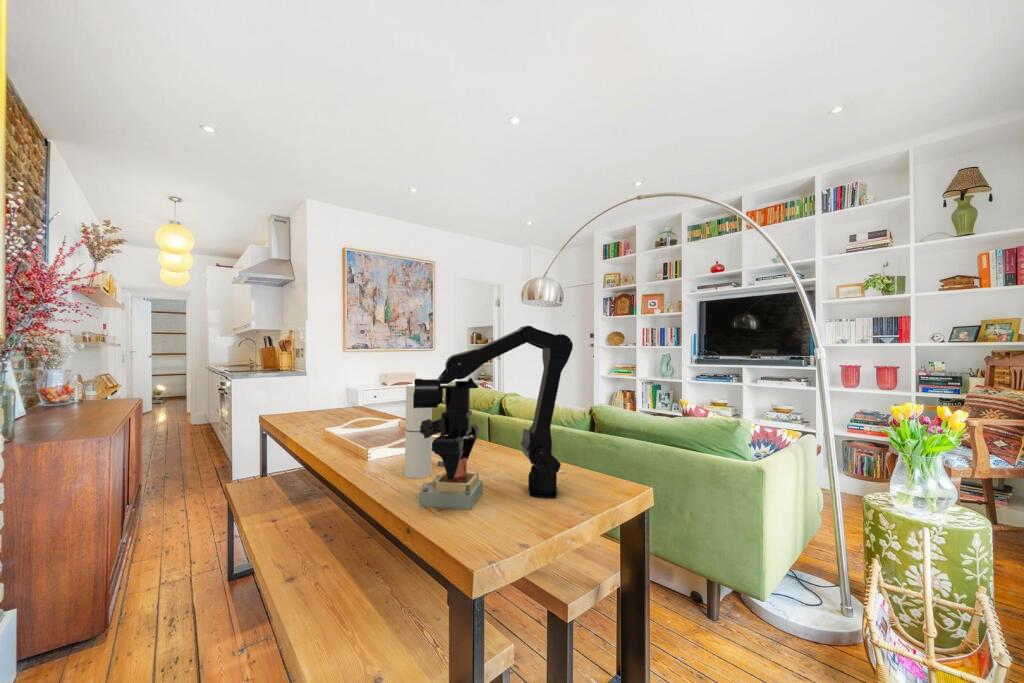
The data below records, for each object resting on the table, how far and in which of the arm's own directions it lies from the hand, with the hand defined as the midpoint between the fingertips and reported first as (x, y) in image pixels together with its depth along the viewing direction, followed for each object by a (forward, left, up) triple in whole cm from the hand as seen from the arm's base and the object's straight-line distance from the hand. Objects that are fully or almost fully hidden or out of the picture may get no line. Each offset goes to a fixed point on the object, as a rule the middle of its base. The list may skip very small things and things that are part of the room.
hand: (456, 473), depth 97 cm
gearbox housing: (+1, 0, -6) cm, 6 cm away
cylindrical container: (+16, -16, -6) cm, 24 cm away
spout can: (+1, 0, -3) cm, 3 cm away
